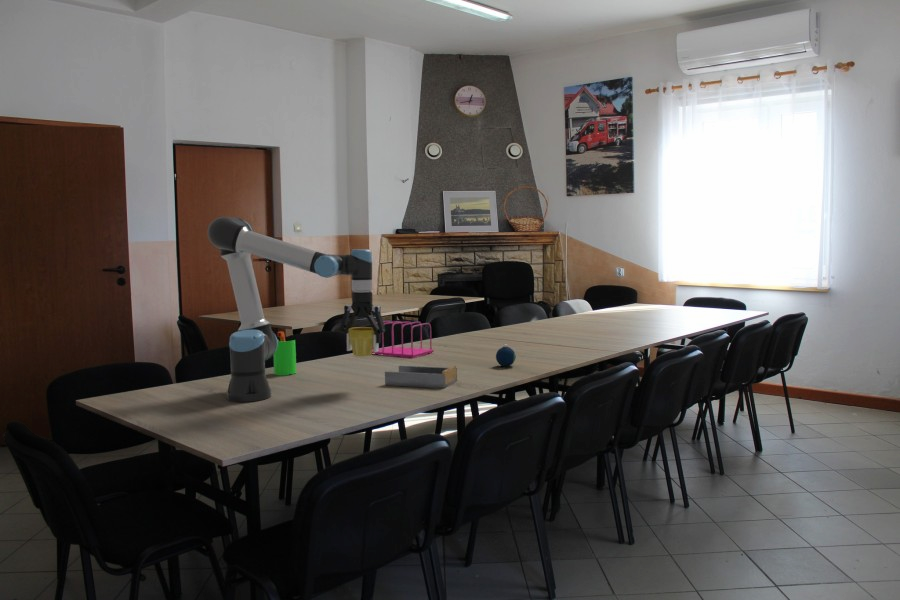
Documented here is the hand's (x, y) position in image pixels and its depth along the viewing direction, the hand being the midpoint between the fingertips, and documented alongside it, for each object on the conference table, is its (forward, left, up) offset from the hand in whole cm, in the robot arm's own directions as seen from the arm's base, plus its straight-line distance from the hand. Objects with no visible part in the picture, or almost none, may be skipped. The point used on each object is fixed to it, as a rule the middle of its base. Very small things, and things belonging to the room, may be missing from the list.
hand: (362, 351), depth 262 cm
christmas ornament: (+56, -39, -14) cm, 70 cm away
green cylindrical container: (+18, +46, -14) cm, 51 cm away
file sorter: (+78, +18, -14) cm, 82 cm away
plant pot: (0, 0, -2) cm, 2 cm away
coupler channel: (+14, -17, -14) cm, 26 cm away
